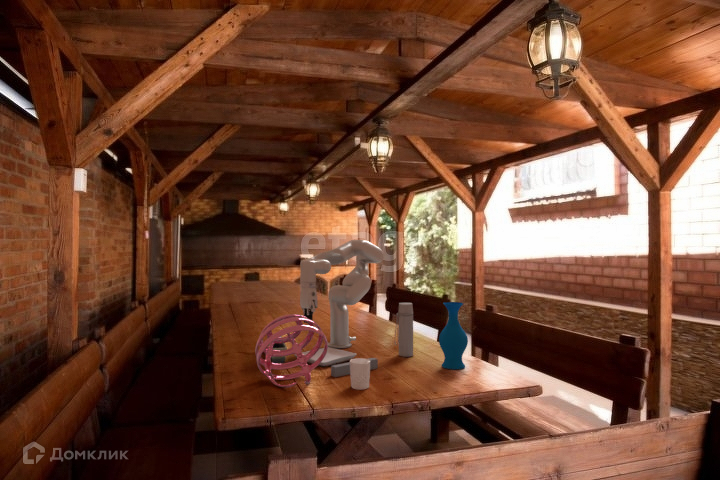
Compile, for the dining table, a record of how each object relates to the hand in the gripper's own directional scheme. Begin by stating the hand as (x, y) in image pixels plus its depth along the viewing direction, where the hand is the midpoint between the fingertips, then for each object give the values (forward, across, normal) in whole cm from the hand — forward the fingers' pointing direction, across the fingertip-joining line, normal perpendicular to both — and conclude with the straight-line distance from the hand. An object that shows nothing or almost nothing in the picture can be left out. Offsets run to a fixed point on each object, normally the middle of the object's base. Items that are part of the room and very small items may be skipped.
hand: (308, 322), depth 231 cm
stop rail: (+15, -40, 0) cm, 42 cm away
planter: (+16, +4, +15) cm, 22 cm away
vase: (+15, -59, -39) cm, 72 cm away
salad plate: (+16, -16, 0) cm, 22 cm away
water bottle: (+15, -31, -35) cm, 49 cm away
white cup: (+15, -57, +10) cm, 60 cm away
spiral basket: (+15, -36, +28) cm, 48 cm away
